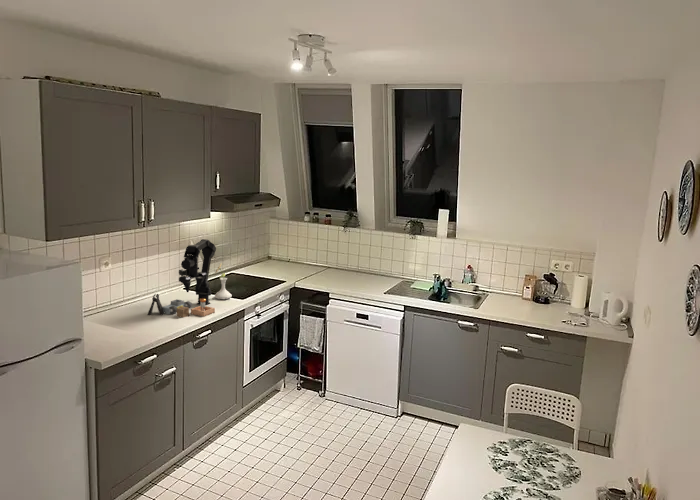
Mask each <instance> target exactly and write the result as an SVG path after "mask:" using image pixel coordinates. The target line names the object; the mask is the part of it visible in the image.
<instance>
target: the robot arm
mask: <svg viewBox="0 0 700 500" xmlns="http://www.w3.org/2000/svg"><path fill="white" fill-rule="evenodd" d="M216 250H217V248H216V246H215V243H213V242H211V241H210V239H204V238H203V239H200V241H198V242H197V243H195V244H189V245H187V246H186V248H185V252H184V255H183V258H184V259H183V260H182V261H181V263H180V266H181V268H182V269H179V270H178V275H179V277H178V282H180V283H181V284H183V286H184V289H185V292H187V293H189V292H190V288H191V280H192V279H195V282H196V285H195V288H194V290H195V291H194V292H195V295H196V296H197V295H198V298H197V302H196V305H199V306H201V302H200V299H201V298H205V299H206V301H205V306H207V305H209V304H211V302H210V301H209V300H210V299H209V296H212V289H211V288H210V283H209V275H210V267H211V262H212V258H213V257H214V256H215V255H216V254H215V253H216V252H217V251H216ZM200 254H202V257H203V259H202V265H201V271H199V270H200V267H198V266H199V265H198V263H199V261H198V260H199V255H200Z"/></svg>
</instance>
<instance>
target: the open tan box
mask: <svg viewBox="0 0 700 500" xmlns="http://www.w3.org/2000/svg"><path fill="white" fill-rule="evenodd" d="M200 308H201V305H199V306H196V307H193V308H190V314H191V315H195V316H199V317H203V318H204V317H207V316H210V315H212V313H213V314H215V311H216V310H215V307H211V306H207V305H205V311H200Z"/></svg>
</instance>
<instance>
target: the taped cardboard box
mask: <svg viewBox="0 0 700 500" xmlns="http://www.w3.org/2000/svg"><path fill="white" fill-rule="evenodd" d="M189 316H190V308H187V307H183V305H181V306H178V307H177V312H176V317H178V318H187V317H189Z"/></svg>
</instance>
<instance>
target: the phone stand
mask: <svg viewBox="0 0 700 500" xmlns="http://www.w3.org/2000/svg"><path fill="white" fill-rule="evenodd" d="M155 303H156V306H157V311H158V312H159V314H158V316H163V315H164V314H165V313H164V312H163V309H162V307H163V306H162V303H161V300H160V295H159V293H157V294H156V293H155V294H153V296H152V302H151V304H150V307H149V310H148V312H147V314H146V315H147V316H152V315H153V310H154V306H155Z"/></svg>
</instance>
